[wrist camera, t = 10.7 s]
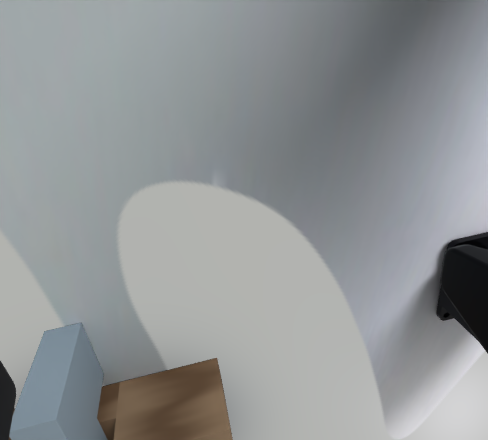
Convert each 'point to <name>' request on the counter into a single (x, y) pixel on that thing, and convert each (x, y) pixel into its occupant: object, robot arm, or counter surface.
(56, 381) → the slate block
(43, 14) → the counter surface
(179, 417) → the walnut board
